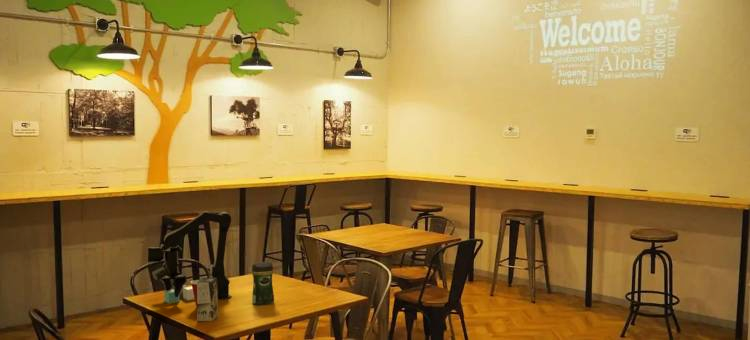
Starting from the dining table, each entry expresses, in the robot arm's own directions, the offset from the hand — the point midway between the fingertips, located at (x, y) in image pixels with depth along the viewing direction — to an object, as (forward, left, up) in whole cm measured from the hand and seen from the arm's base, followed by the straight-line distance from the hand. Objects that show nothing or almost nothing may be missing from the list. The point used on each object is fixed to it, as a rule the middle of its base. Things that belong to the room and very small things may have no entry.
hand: (172, 295), depth 309 cm
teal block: (0, 0, -3) cm, 3 cm away
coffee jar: (-29, -30, -3) cm, 42 cm away
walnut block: (+7, -7, -3) cm, 10 cm away
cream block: (0, -9, -3) cm, 9 cm away
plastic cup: (-19, -6, -3) cm, 20 cm away
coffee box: (-35, 0, -3) cm, 35 cm away
